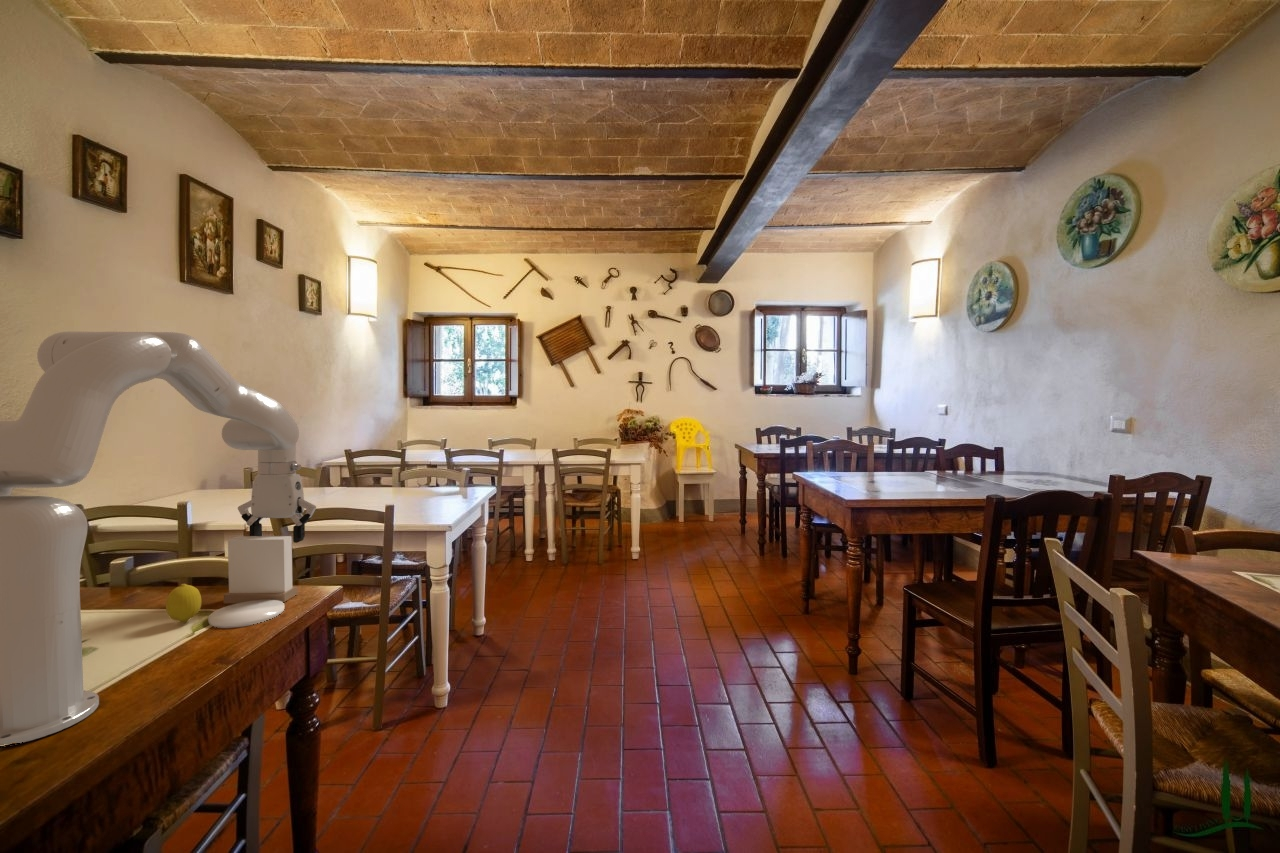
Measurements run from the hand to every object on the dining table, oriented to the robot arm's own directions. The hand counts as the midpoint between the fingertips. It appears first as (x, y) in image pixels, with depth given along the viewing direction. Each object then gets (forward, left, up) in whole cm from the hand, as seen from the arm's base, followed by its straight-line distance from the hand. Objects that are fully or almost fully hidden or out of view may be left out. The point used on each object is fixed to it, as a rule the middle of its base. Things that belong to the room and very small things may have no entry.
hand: (277, 541), depth 131 cm
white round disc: (-9, -13, -12) cm, 20 cm away
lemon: (-19, -9, -12) cm, 24 cm away
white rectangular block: (-5, -5, -12) cm, 13 cm away
